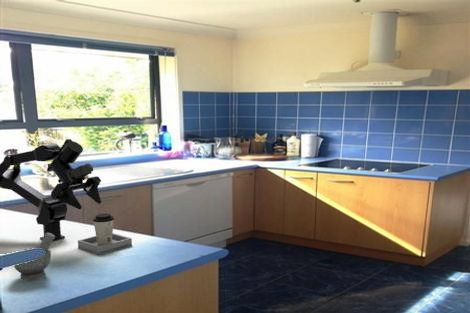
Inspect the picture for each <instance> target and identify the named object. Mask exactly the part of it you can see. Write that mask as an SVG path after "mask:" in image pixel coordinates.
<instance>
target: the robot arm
mask: <svg viewBox="0 0 470 313" xmlns="http://www.w3.org/2000/svg"><path fill="white" fill-rule="evenodd" d="M83 151H84V148H83V146H82V145H81V144H80V143H78V142H76V141H74V140H72V139H71V138H66V139H65V141H64V143H63V145H61V147H60V146H59V145H58V144H57V143H51V144H42V145H39V146H37V147H35V148H34V149H33V150H29V151H25V152H20V153H14V154H7V155H6V156H5V157H4V158H3V161H2V162H0V188H1V189H5V190H9V191H12V192H14V193H15V194H16V195H18V196H19V197H21V198H23V199H24V200H25V201H27V202H29V203H30V204H31V205H33V206H35V207H36V208H37V210H38V213H39V214H38V215H37V216H36V218H35V221H36V223H37V225H42V228H43V229H42V230H43V236H41V237H39V239H40V240H41V241H43V239H44V237H45V233H51V234H53V235H54V236H55V238H54V239H53V240H52V242H53V241H57V240H62V239H65V238H66V236H65V235H62V231H61V230H62V228H61V221H65V220H66V217H67V216H66V215H67V213H68V206H67V205H70V206H72V207H73V208H76V209H77V210H81V209H82V205H81V203H80V202H79V200H78V198H77V197H76V196H75V194H74V191H79V190H83V191H84V192H85V193H86V195H87V196H88V197H89V198H91V200H93V201H94V202H95V203H97V204H99V205H100V204H101V203H102V199H101V197H100V193H99V185H100V184H101V182H102V180H101V178H100V177H99V176H96V175H95V176H90V177H88V178H87V179H86V176H89V175H91V174H92V173H93V172H94V168H93V165H91V163H89V162H87V163H85V164H84V165H79V166H77V167H75V168H73V167H72V165H71V164H74V163H75V162H76V160H77V159H78V158H79V156H80V155H81V154H82V153H83ZM49 161H50V163H48V164H47V168H46V171H47V172H53V173H55V175H56V177H57V178H58V180H57V182H58V183H57V184H56V185H55V186H54V187H53V189H52V190H51V192H50V196H46V195H45V194H43V193H42V192H40V191H39V190H37V189H35V188H34V187H33V186H31V185H30V184H28V183H27V182H25V181H23V180H22V178H21V175H20V174H21V172H22V170H21V165H22V164H24V163H28V162H49ZM11 166H13V167H12V168H10V167H11ZM85 180H86V181H85Z"/></svg>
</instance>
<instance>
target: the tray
mask: <svg viewBox="0 0 470 313" xmlns="http://www.w3.org/2000/svg"><path fill="white" fill-rule="evenodd" d="M132 245H133V242H132V237H129V236H125V235H121V234H117V233H114V232H113V234H112V243H110V244H107V245H103V246H98V244H97V238H96V235H94V236H91V237H90V236H89V237H86V238H83V239H79V240H77V246H78V249H80V248H81V250H83V251H87V252H89V253H92V252H93V254H95V253H96V255H98V254H99V256H101V255H104V253H105V254H107V253H111V252H115V251H119V250H122V249H124V248H128V247H131V246H132ZM114 250H115V251H114ZM100 254H101V255H100Z"/></svg>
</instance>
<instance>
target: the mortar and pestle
mask: <svg viewBox="0 0 470 313" xmlns="http://www.w3.org/2000/svg"><path fill="white" fill-rule="evenodd" d="M43 237H44V236H43ZM54 238H55V236H54V235H53V234H51V233H45V237H44V239H43V240H41V242H40V244H39V246H38V247H37V248H42V249H44V250H45V251H46V253H45V255H44V256H43V257H41V258H39V259H37V260H34V261H30V262H27V263H22V264H19V265H15V266H13V267H14V269H15V270H16V271H17V272H18V273H19V274H20V275H19V276H20V280H22V281H23V282H33V281H37V280H40V279H43V278H44V277H45V275H46V272H45V269H46V268H47V267H48V266H49V264H50V262H51V256H52V252H51V251H52V250H51V249H50V247H51V244H52V243H53V241H52V240H53V239H54ZM32 248H33V247H31V248H29V249H32ZM27 249H28V248H24V249H22V250H27ZM22 250H20V251H22Z"/></svg>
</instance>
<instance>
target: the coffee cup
mask: <svg viewBox="0 0 470 313" xmlns="http://www.w3.org/2000/svg"><path fill="white" fill-rule="evenodd" d="M114 220H115V217H114V216H112V215H111V214H110V213H99V214H97V215H95V217H94V218H93V220H92V222H93V225H94V232H95V236H96V238H97V244H98V246H103V245H107V244H110V243H112V234H113V233H114V232H113V230H114V223H115V222H114Z"/></svg>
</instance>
